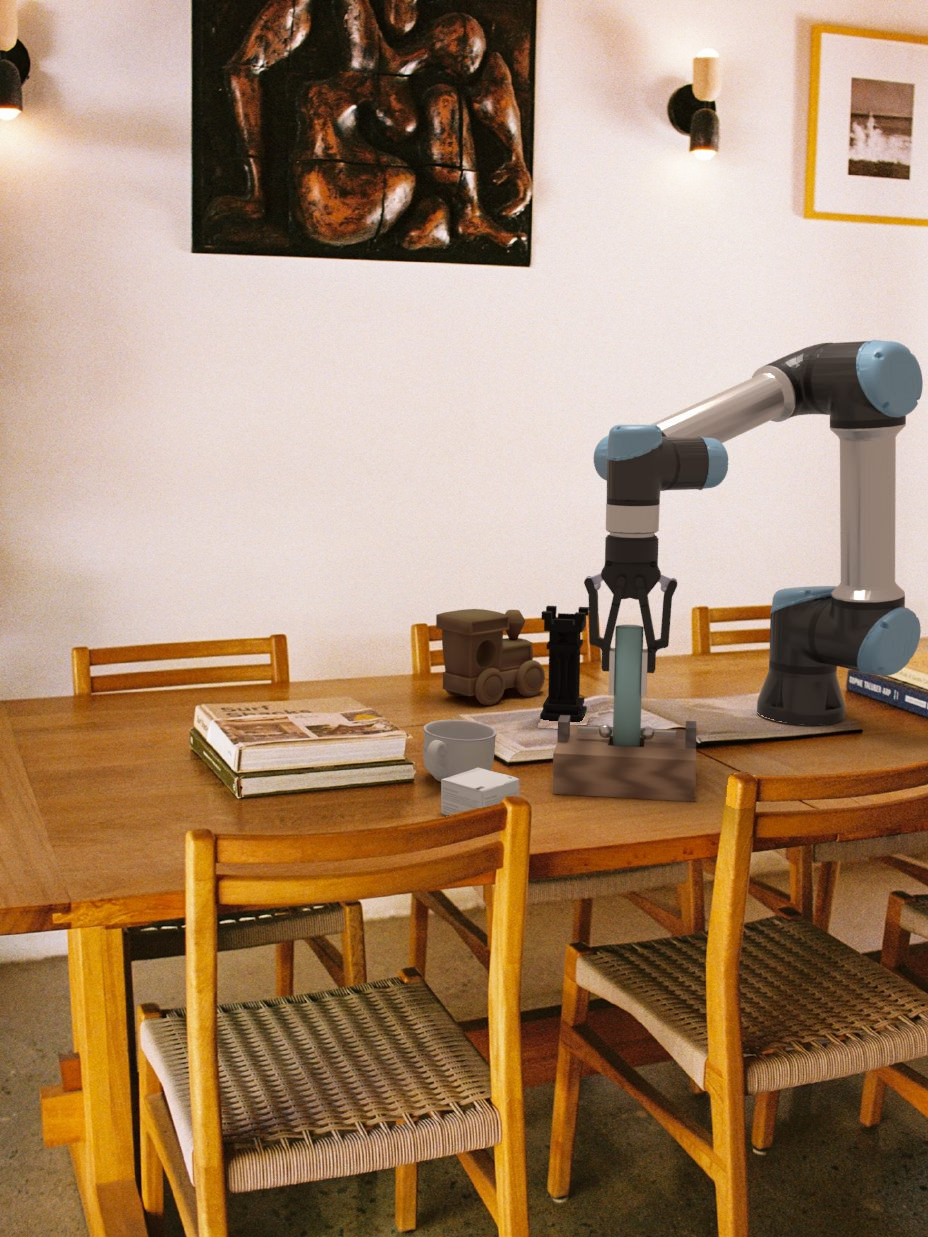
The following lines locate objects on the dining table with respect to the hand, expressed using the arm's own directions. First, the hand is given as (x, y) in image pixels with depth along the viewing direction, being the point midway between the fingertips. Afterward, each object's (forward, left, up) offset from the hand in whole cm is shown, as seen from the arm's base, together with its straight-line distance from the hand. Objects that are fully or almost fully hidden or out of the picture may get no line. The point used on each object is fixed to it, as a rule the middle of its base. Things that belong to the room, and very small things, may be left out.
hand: (627, 693), depth 183 cm
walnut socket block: (0, 0, -13) cm, 13 cm away
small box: (+19, +18, -14) cm, 29 cm away
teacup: (+25, +5, -14) cm, 29 cm away
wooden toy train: (+27, -48, -14) cm, 57 cm away
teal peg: (0, 0, -12) cm, 12 cm away
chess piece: (+12, -31, -14) cm, 36 cm away
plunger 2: (-5, 0, -7) cm, 8 cm away
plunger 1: (+5, 0, -7) cm, 8 cm away
